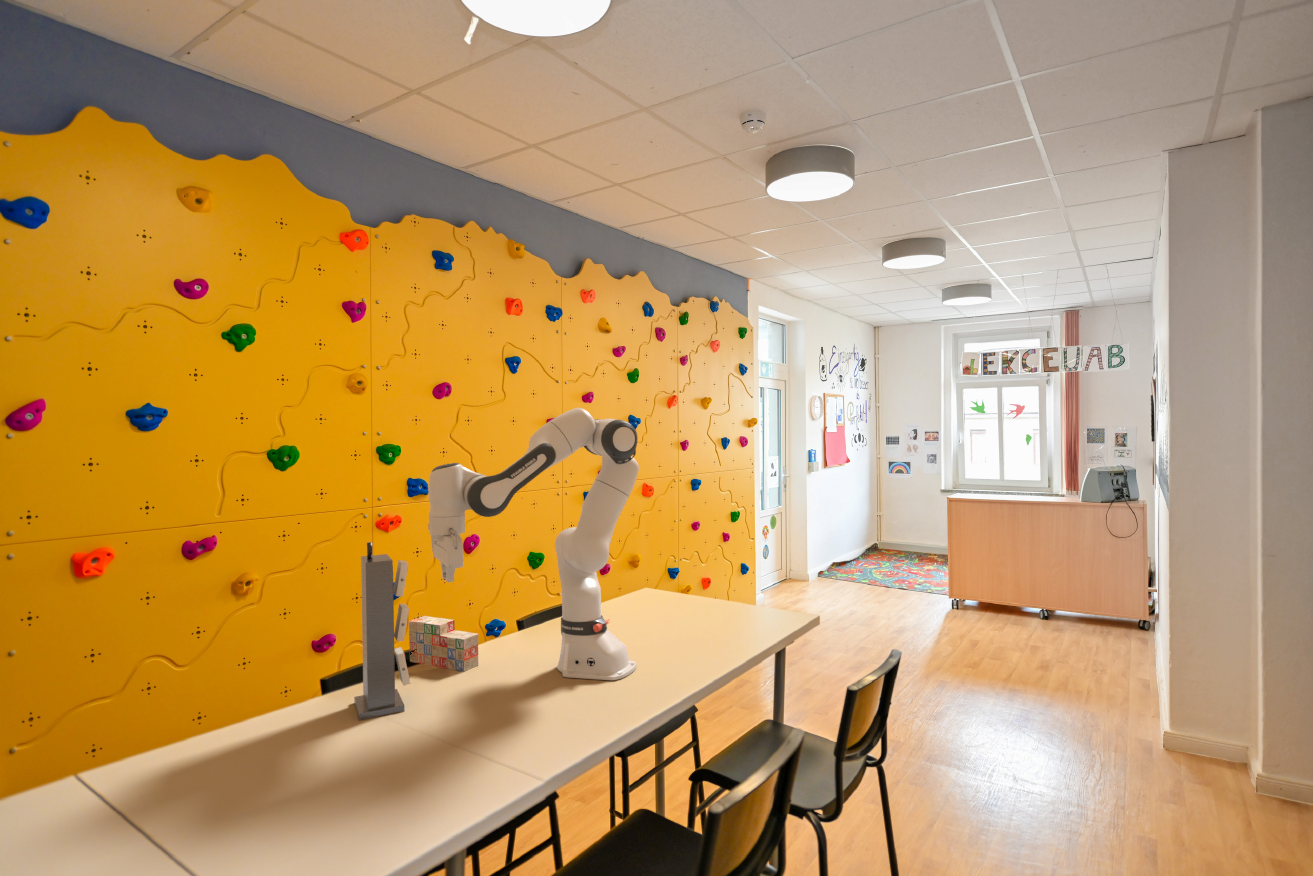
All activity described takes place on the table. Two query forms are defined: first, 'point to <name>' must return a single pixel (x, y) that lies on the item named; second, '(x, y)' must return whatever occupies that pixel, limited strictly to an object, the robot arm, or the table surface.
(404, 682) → the bottom rocker
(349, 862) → the table surface
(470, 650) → the stack of blocks
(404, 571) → the top rocker
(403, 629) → the middle rocker
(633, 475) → the robot arm
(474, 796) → the table surface
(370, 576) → the power strip
